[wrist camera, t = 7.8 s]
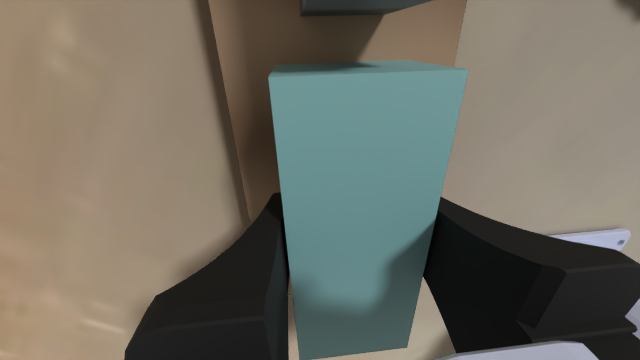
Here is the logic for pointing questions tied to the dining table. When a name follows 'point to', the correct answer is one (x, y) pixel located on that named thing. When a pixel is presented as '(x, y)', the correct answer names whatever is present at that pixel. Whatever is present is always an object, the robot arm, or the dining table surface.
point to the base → (313, 59)
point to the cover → (360, 193)
